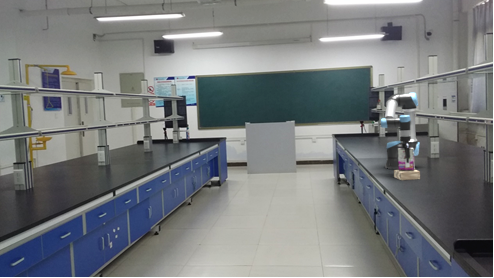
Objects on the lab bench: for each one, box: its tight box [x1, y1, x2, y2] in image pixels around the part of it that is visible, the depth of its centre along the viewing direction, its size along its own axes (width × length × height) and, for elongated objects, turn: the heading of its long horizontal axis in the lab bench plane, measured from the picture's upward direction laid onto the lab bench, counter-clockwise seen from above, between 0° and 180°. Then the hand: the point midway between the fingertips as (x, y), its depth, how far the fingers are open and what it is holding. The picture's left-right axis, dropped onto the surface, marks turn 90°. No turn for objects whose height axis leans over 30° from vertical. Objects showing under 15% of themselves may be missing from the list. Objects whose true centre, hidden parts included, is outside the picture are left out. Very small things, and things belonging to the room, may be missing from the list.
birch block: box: [393, 169, 421, 181], centre depth 314 cm, size 14×14×6 cm
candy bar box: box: [398, 148, 416, 170], centre depth 314 cm, size 11×5×16 cm, turn 64°
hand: (406, 166), depth 314 cm, fingers closed on candy bar box, 6 cm apart
